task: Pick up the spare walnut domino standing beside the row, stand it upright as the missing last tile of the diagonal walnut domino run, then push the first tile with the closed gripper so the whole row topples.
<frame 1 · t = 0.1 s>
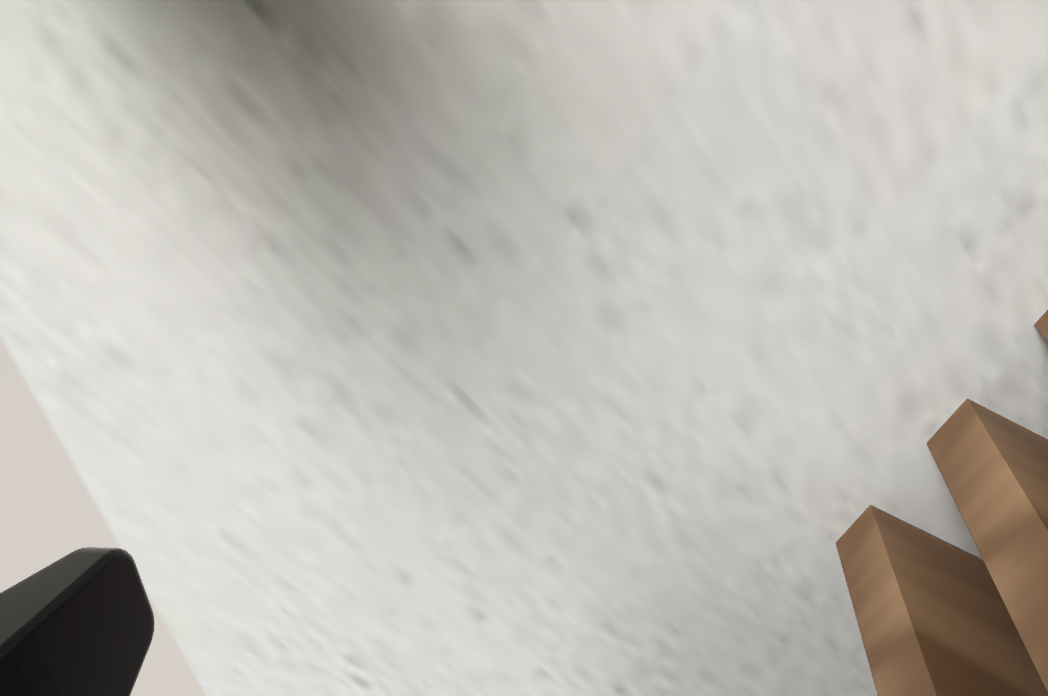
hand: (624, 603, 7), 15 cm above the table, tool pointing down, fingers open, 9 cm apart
tile 1: (927, 560, 25), on the table
tile 2: (1026, 462, 23), on the table
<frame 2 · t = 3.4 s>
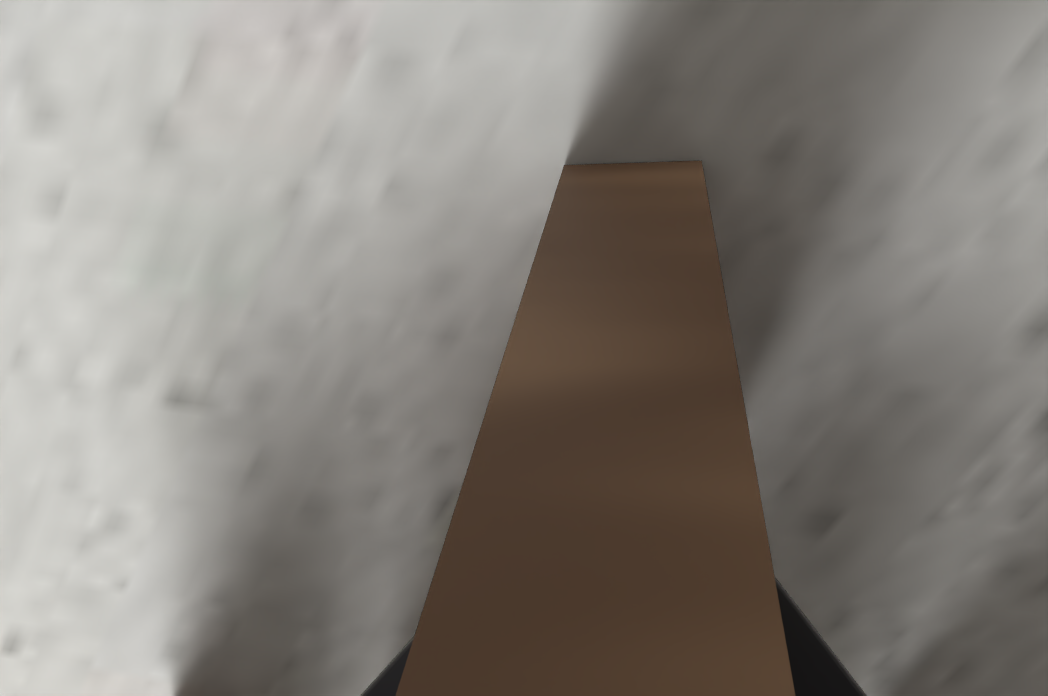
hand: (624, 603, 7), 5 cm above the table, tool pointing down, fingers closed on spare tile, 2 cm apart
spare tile: (634, 350, 11), on the table, touching gripper
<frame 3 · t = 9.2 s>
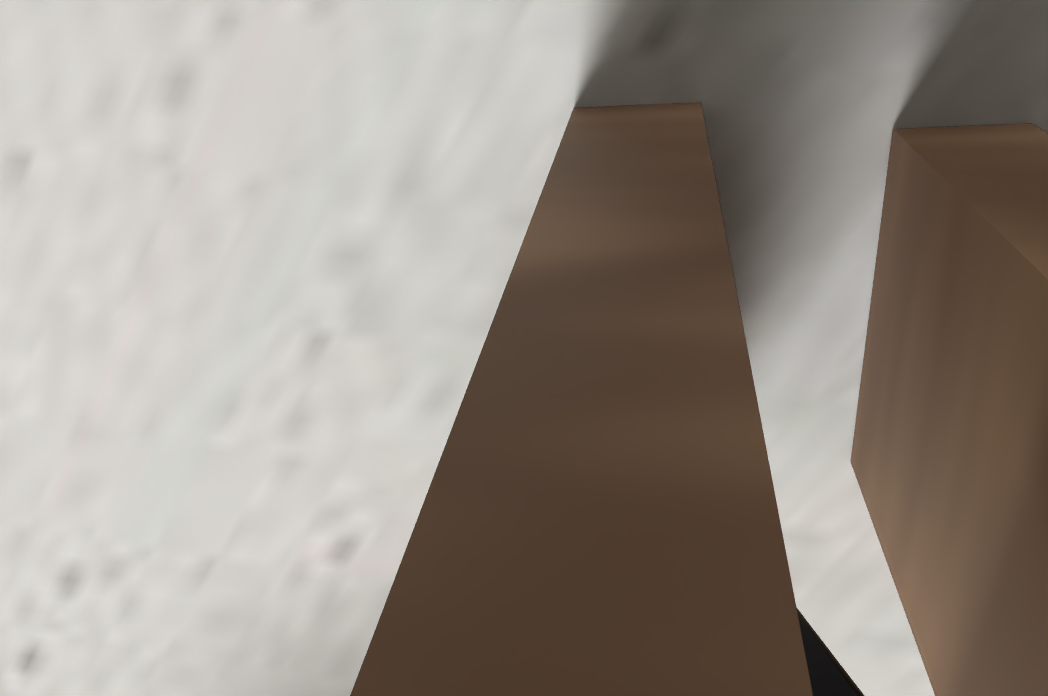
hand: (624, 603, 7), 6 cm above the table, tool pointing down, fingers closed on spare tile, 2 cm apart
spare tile: (638, 285, 12), on the table, touching gripper
tile 4: (931, 310, 12), on the table, touching gripper
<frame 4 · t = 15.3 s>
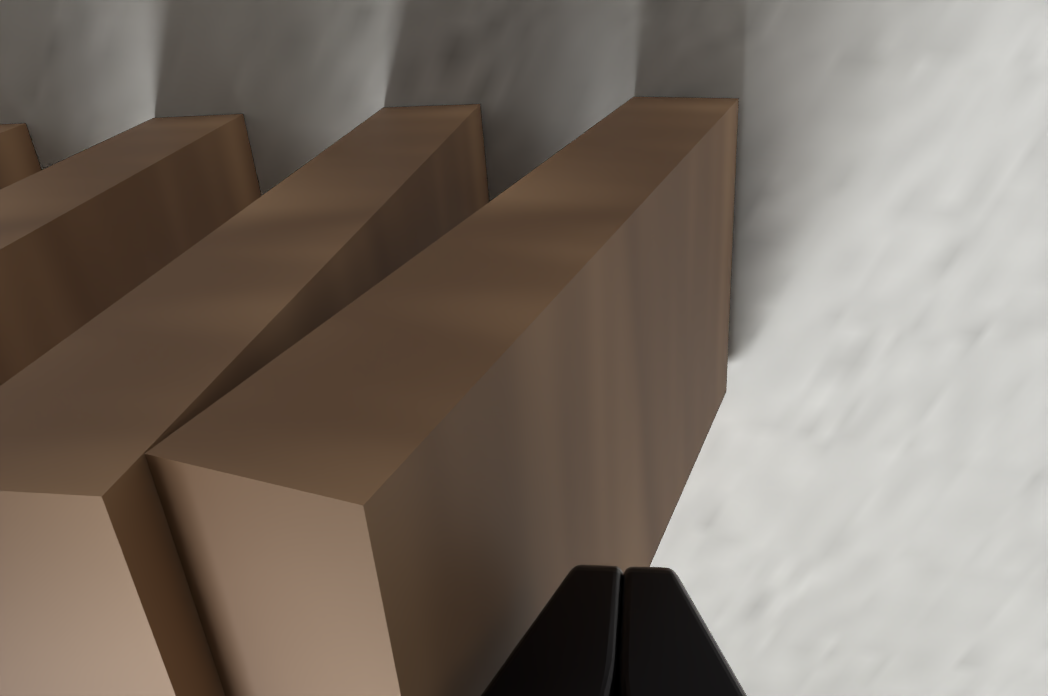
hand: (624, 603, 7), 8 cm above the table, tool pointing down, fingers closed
tile 1: (682, 253, 14), on the table, tilted 16°, touching gripper
tile 2: (448, 252, 15), on the table
tile 3: (232, 255, 16), on the table
tile 4: (32, 259, 16), on the table
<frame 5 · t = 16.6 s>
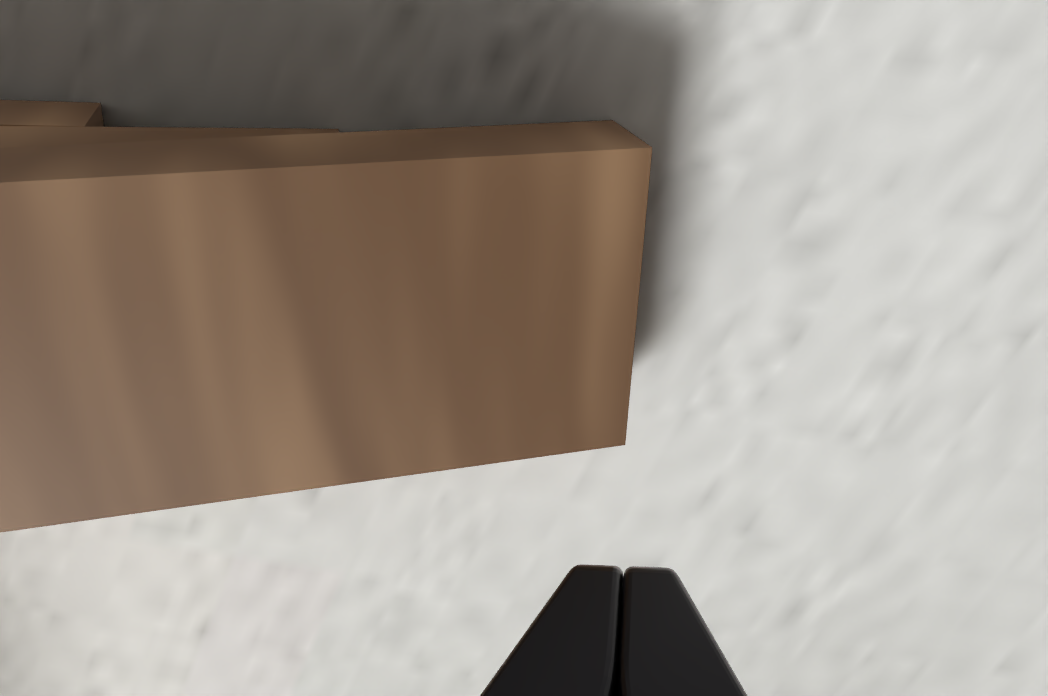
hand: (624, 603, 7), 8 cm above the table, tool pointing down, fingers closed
tile 1: (619, 288, 14), point 1 cm above the table, tilted 68°, touching tile 2
tile 2: (345, 290, 14), point 1 cm above the table, tilted 67°, touching tile 1, tile 3
tile 3: (113, 261, 15), point 1 cm above the table, tilted 67°, touching tile 2
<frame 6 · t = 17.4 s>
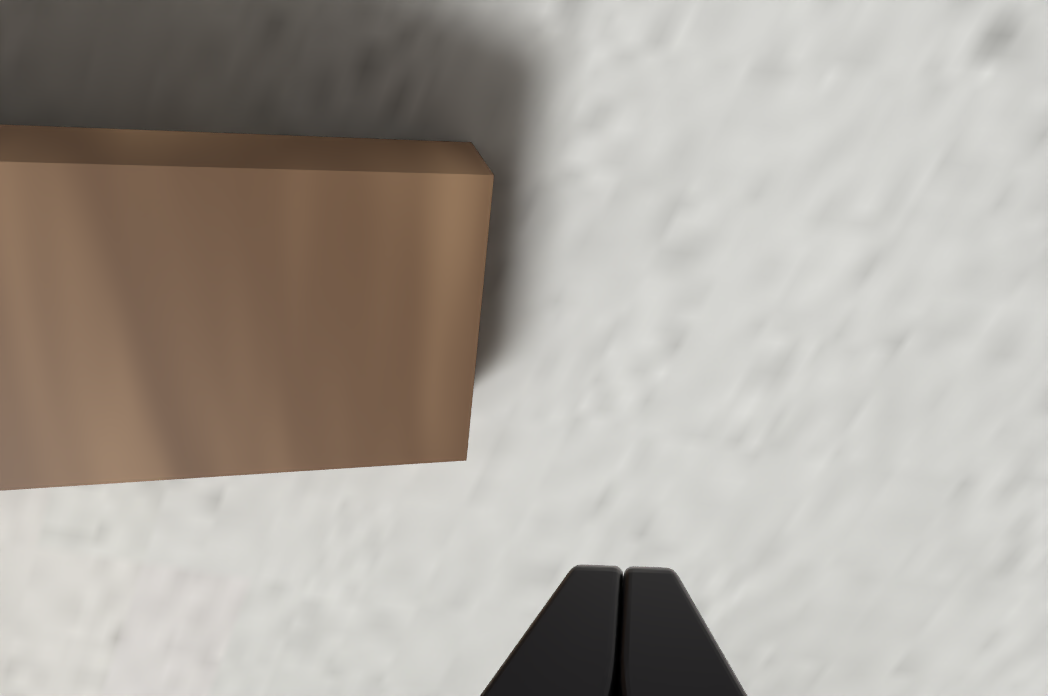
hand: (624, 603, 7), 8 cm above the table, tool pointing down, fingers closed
tile 1: (468, 307, 14), point 1 cm above the table, tilted 68°, touching tile 2
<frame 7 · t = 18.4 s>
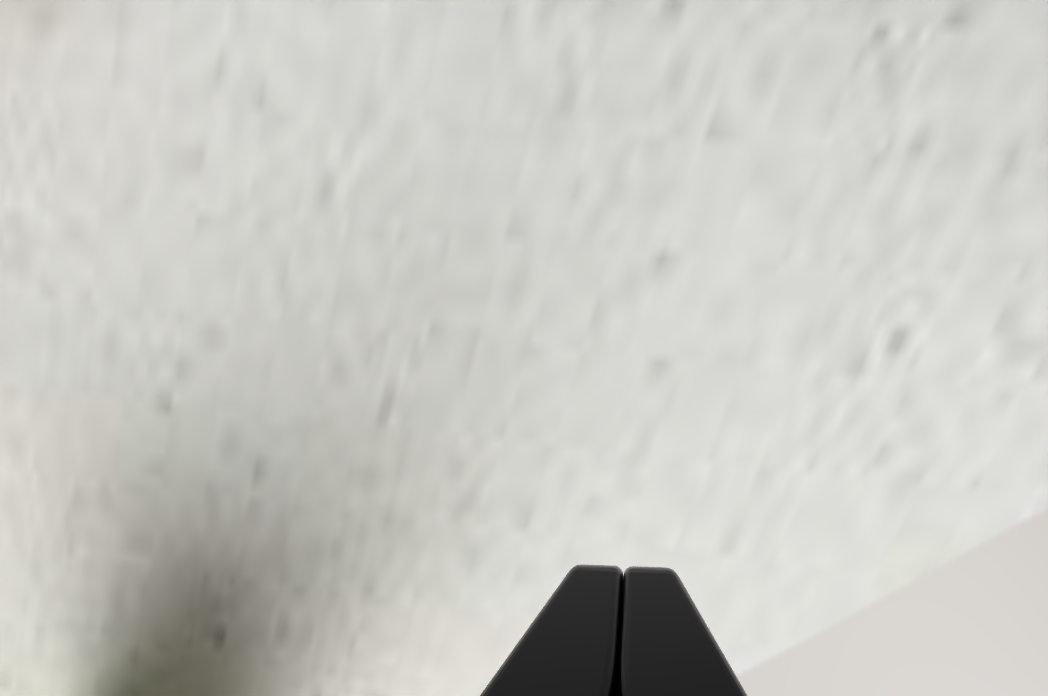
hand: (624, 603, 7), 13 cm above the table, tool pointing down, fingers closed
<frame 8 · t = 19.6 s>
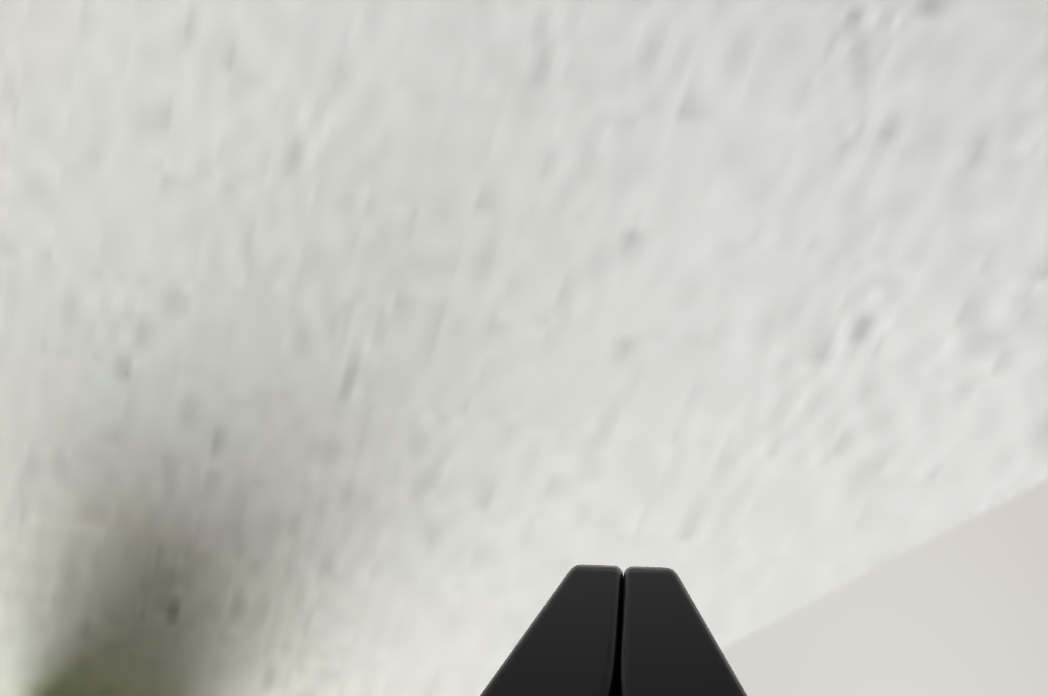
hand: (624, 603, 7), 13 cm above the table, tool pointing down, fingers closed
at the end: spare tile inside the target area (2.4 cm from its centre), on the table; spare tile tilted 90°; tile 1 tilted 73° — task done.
